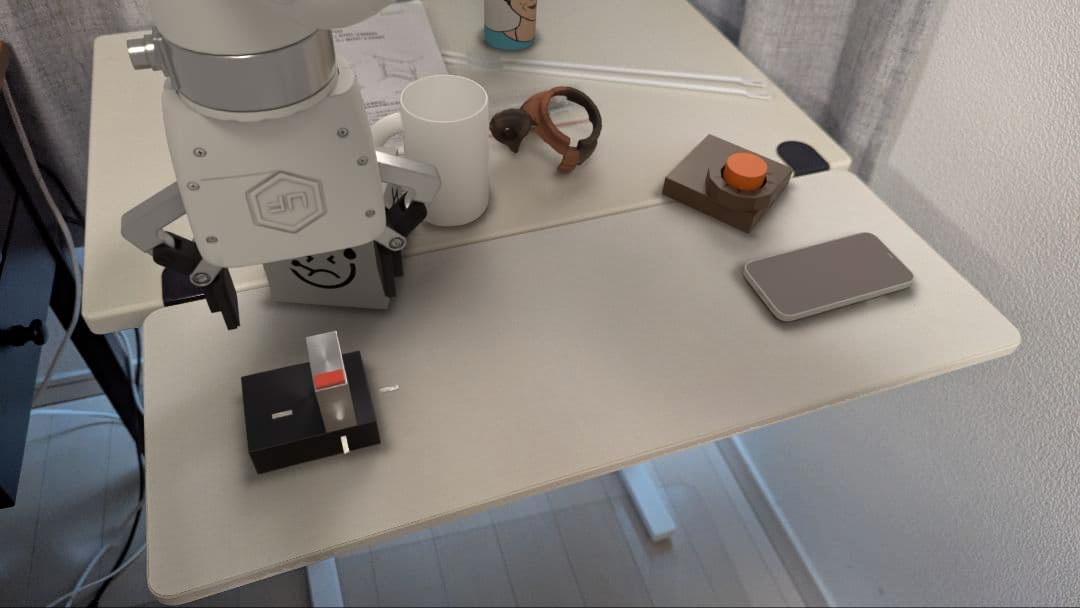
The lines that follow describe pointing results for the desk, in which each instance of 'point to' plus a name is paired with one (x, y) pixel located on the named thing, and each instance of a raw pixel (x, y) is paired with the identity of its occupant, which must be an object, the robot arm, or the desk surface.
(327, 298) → the icon cube
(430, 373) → the desk surface
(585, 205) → the desk surface
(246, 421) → the switch panel
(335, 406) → the red-banded grey bar
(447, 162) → the mug
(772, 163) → the control block
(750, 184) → the power button
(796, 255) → the smartphone
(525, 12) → the cup
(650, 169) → the desk surface
